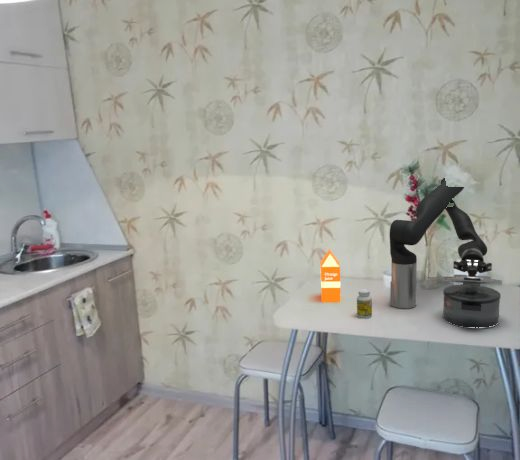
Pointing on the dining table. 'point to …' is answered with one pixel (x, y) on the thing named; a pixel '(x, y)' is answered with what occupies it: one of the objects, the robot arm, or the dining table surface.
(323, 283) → the orange juice
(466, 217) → the robot arm
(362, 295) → the supplement bottle
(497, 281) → the cooker lid
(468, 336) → the dining table surface
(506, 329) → the dining table surface
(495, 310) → the cooker pot
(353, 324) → the dining table surface
